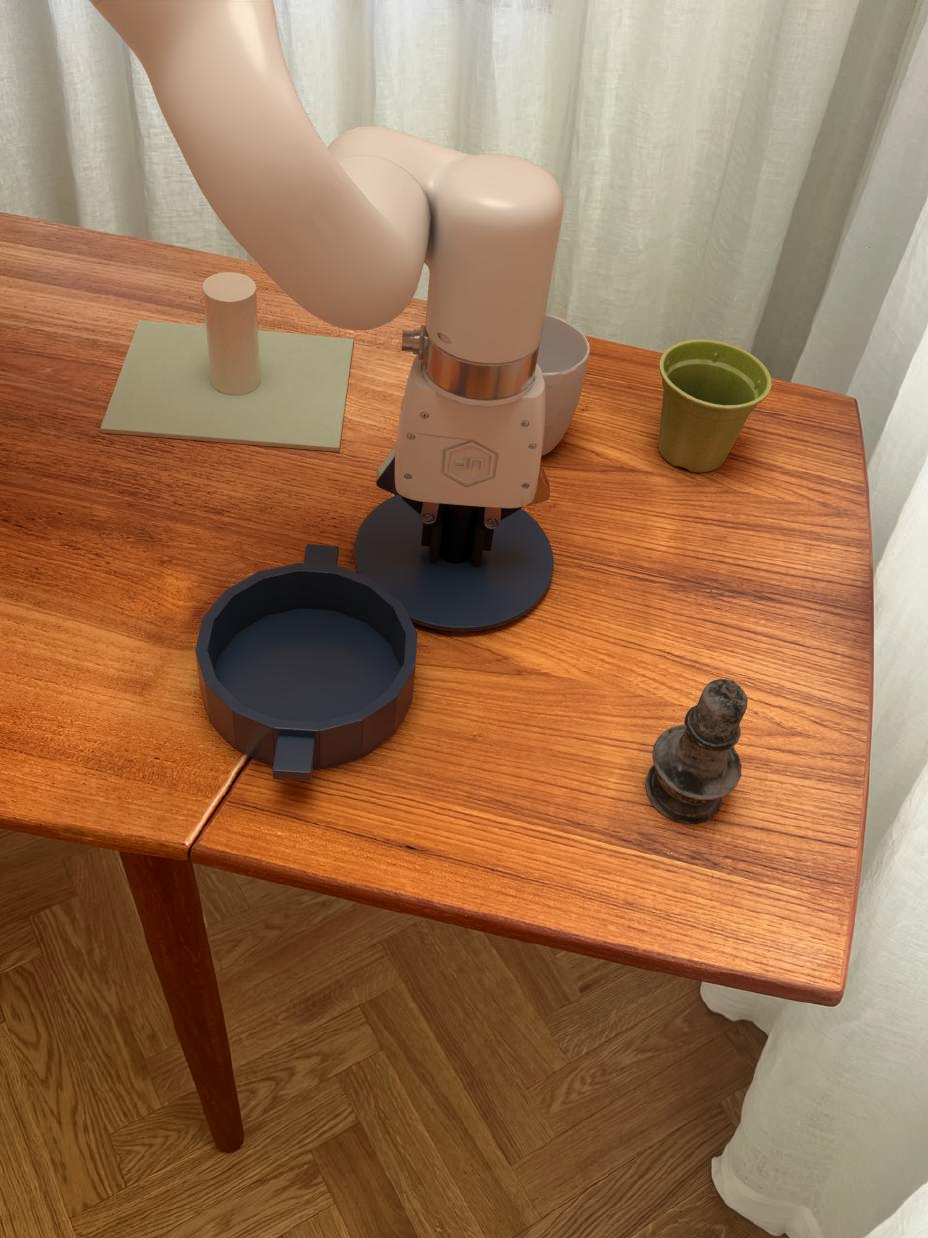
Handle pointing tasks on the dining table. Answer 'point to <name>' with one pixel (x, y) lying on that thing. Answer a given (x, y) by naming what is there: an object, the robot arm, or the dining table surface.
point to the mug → (561, 375)
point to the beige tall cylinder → (232, 332)
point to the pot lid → (455, 566)
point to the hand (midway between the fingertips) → (455, 550)
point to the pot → (307, 665)
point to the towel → (194, 410)
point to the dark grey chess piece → (699, 756)
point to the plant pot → (707, 401)
